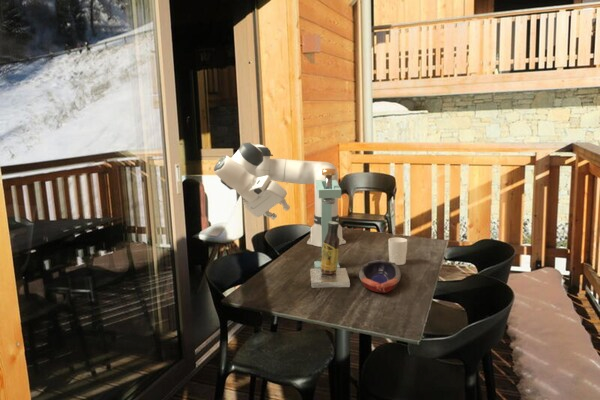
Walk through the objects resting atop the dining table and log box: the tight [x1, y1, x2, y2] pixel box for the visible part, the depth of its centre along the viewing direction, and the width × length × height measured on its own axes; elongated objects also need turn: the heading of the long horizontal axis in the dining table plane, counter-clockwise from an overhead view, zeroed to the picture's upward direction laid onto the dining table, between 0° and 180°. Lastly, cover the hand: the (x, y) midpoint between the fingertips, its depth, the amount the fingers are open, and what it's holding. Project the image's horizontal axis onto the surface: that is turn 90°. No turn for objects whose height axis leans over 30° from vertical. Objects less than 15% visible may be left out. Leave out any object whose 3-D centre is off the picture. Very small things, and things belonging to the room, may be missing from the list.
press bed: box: [309, 267, 351, 289], centre depth 191 cm, size 16×14×2 cm
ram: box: [322, 168, 337, 204], centre depth 184 cm, size 5×5×12 cm
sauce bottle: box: [321, 221, 340, 274], centre depth 191 cm, size 7×6×20 cm
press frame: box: [313, 180, 342, 269], centre depth 194 cm, size 27×10×36 cm, turn 0°
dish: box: [358, 259, 402, 294], centre depth 187 cm, size 16×31×5 cm, turn 168°
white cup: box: [388, 236, 408, 266], centre depth 210 cm, size 8×8×10 cm
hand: (281, 213), depth 186 cm, fingers open, 8 cm apart
